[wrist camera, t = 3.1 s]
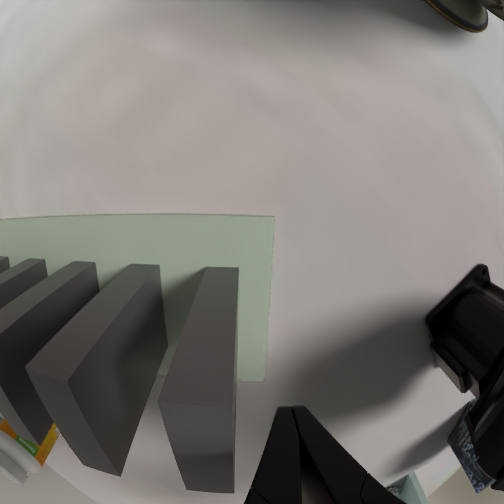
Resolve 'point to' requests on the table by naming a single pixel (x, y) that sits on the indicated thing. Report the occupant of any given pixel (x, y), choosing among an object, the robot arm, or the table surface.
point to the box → (468, 454)
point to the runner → (164, 262)
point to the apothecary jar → (469, 12)
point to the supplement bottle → (23, 453)
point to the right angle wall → (411, 491)
